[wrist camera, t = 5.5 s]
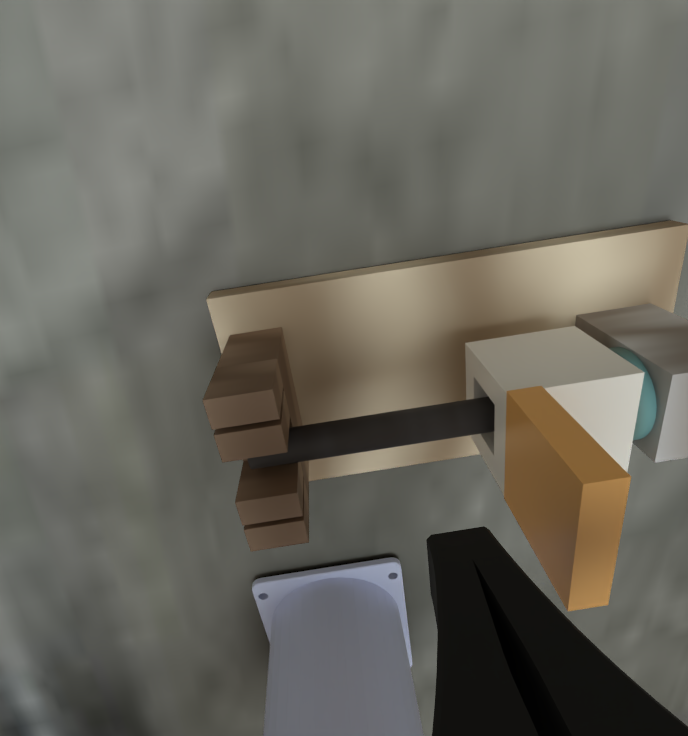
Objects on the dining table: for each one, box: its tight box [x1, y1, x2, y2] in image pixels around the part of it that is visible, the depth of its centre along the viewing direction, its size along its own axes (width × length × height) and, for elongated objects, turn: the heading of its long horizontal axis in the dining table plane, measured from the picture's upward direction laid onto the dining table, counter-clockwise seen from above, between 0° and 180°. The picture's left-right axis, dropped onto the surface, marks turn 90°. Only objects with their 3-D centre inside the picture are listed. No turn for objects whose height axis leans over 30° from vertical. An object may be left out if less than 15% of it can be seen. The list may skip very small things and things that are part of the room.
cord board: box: [203, 220, 688, 551], centre depth 17 cm, size 18×9×6 cm, turn 98°
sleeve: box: [465, 326, 645, 611], centre depth 14 cm, size 4×4×8 cm
